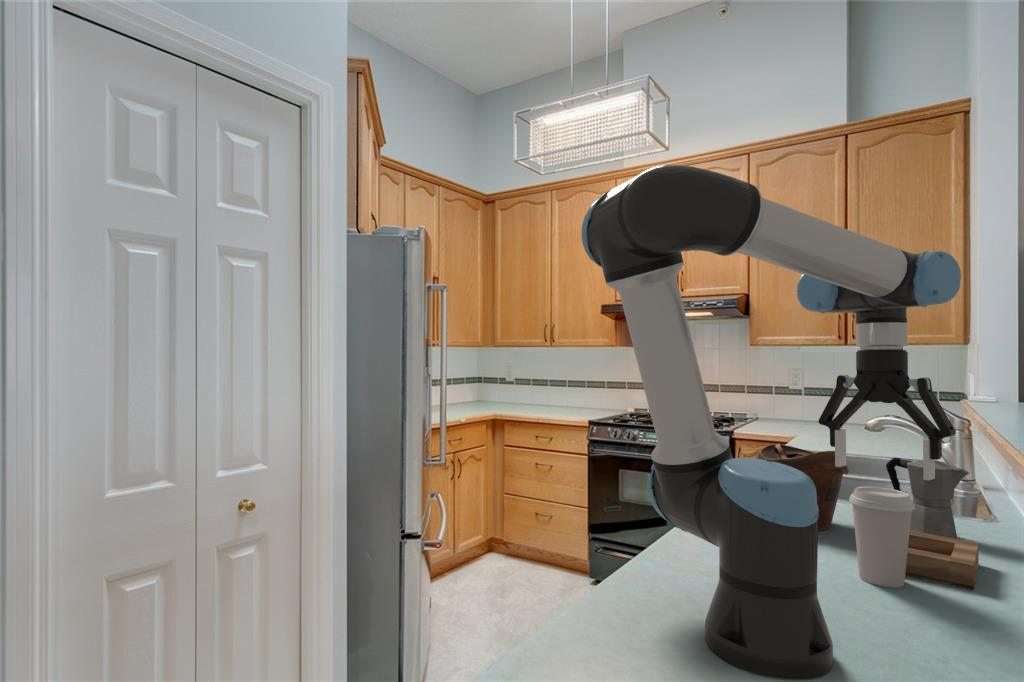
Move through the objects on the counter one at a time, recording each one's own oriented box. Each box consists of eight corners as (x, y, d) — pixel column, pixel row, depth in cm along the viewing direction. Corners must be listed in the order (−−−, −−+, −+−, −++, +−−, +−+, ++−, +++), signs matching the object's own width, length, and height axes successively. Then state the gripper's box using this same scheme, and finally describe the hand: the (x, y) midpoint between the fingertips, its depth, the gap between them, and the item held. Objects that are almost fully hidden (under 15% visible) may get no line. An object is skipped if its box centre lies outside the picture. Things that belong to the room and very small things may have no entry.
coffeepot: (977, 539, 122) (976, 454, 122) (960, 547, 116) (960, 458, 117) (895, 522, 134) (895, 444, 135) (877, 528, 129) (876, 447, 129)
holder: (973, 590, 95) (973, 565, 95) (861, 565, 105) (861, 543, 106) (978, 564, 107) (978, 542, 107) (877, 544, 118) (877, 525, 118)
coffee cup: (920, 580, 99) (919, 492, 99) (909, 596, 92) (909, 501, 92) (856, 565, 106) (856, 483, 106) (842, 580, 99) (842, 491, 99)
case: (761, 506, 146) (761, 435, 146) (852, 521, 135) (852, 444, 135) (742, 523, 132) (743, 445, 132) (843, 542, 120) (843, 455, 120)
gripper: (978, 348, 92) (980, 482, 92) (817, 348, 112) (818, 458, 112) (962, 347, 88) (964, 488, 87) (798, 348, 107) (799, 463, 107)
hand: (882, 472), depth 99 cm, fingers open, 13 cm apart
